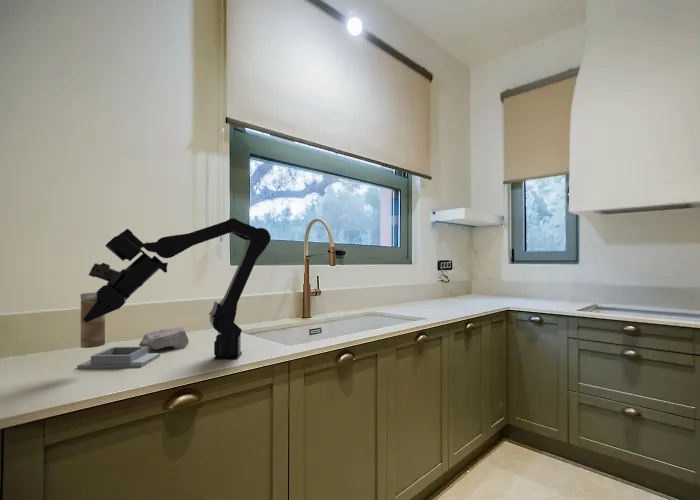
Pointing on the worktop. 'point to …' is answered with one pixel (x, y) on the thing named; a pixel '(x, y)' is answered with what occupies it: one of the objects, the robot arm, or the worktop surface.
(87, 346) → the round tan cylinder
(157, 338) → the stone
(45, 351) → the worktop surface
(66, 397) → the worktop surface
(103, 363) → the cradle
